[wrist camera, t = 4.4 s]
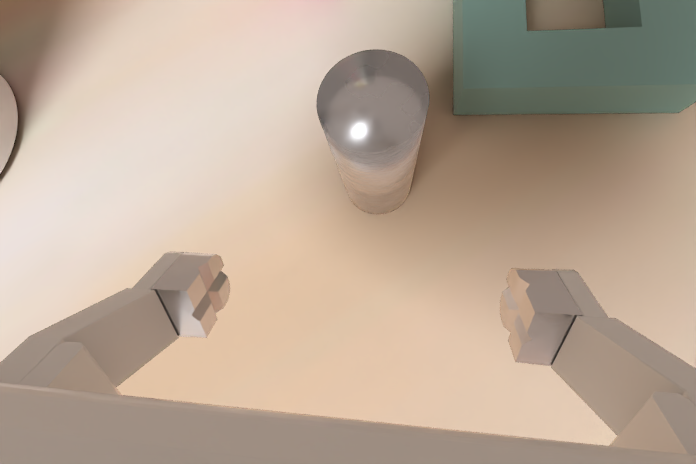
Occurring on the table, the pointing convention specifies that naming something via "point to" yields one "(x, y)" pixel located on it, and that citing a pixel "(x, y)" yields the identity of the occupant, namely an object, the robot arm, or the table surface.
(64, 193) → the table surface
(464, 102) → the block
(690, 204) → the table surface
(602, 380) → the robot arm
